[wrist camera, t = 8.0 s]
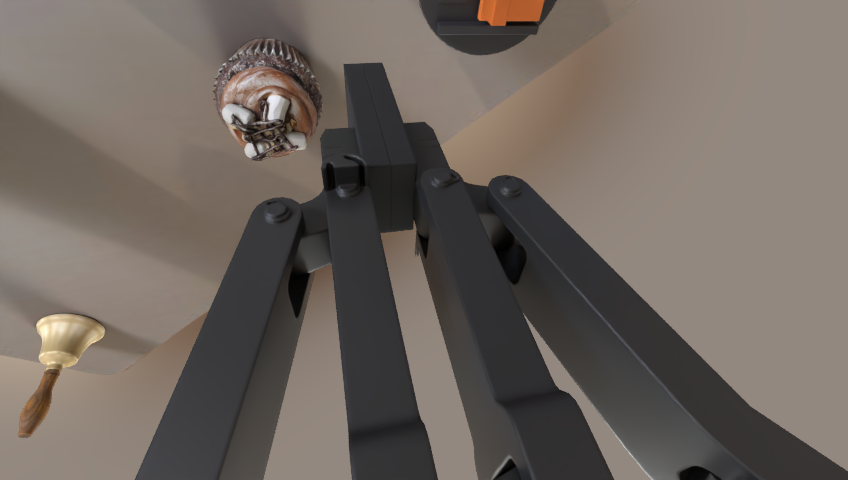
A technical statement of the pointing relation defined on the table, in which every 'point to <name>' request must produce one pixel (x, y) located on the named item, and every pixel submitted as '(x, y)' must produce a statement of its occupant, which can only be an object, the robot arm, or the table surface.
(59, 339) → the hand bell
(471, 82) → the table surface
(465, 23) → the mug lid
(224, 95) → the cupcake
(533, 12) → the slider
